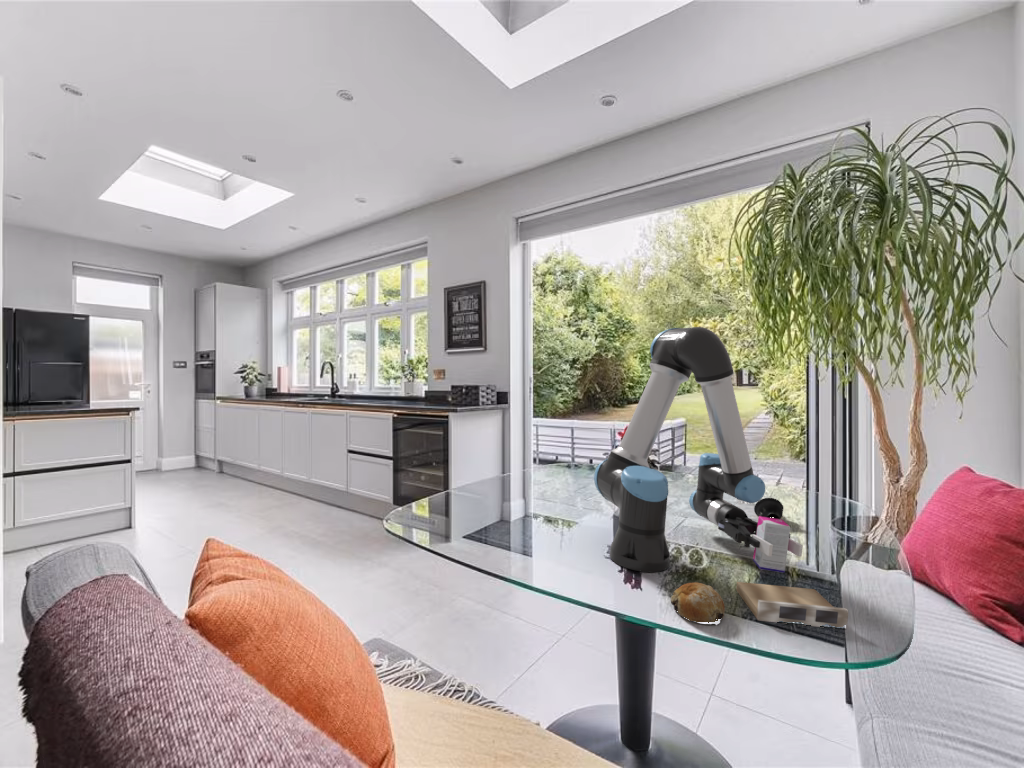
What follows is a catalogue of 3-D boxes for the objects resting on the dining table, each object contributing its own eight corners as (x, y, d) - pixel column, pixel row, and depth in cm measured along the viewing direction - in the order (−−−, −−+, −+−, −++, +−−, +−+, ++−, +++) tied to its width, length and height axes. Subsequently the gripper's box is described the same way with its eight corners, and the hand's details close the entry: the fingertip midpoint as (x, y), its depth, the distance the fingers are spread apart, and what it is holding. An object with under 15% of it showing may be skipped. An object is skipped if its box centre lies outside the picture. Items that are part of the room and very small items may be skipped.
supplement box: (785, 573, 115) (791, 526, 114) (759, 569, 116) (764, 522, 115) (777, 563, 120) (782, 518, 120) (752, 559, 121) (756, 515, 121)
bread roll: (702, 646, 95) (722, 618, 92) (659, 607, 101) (677, 579, 98) (719, 626, 102) (738, 600, 100) (678, 590, 108) (695, 564, 106)
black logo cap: (754, 511, 157) (743, 480, 173) (764, 538, 159) (751, 505, 176) (785, 505, 153) (770, 474, 170) (794, 532, 156) (778, 500, 173)
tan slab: (758, 621, 99) (760, 602, 98) (736, 590, 111) (737, 573, 111) (847, 630, 97) (848, 611, 96) (813, 597, 110) (815, 580, 109)
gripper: (758, 530, 137) (821, 566, 115) (693, 529, 134) (745, 566, 111) (761, 504, 137) (825, 535, 114) (696, 503, 134) (748, 534, 111)
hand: (785, 550), depth 113 cm, fingers closed on supplement box, 7 cm apart
